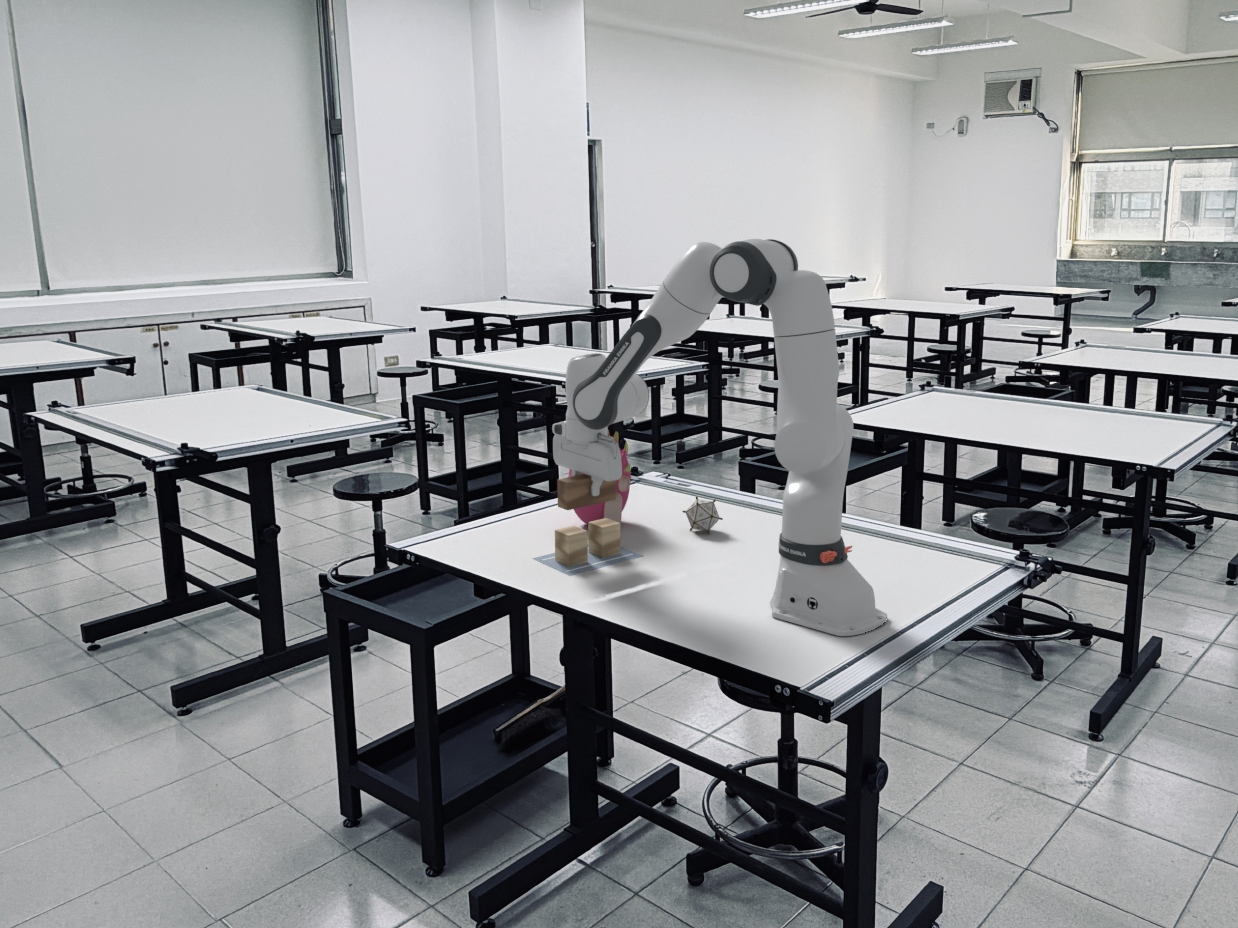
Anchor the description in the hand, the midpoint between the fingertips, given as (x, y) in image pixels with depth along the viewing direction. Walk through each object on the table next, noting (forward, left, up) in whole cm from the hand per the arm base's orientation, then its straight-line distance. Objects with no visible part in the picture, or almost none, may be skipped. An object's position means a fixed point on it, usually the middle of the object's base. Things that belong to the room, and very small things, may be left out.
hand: (587, 492), depth 220 cm
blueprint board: (0, 0, -15) cm, 15 cm away
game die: (0, -34, -16) cm, 37 cm away
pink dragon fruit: (+18, -17, -16) cm, 29 cm away
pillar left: (0, +4, -15) cm, 15 cm away
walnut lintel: (0, 0, -2) cm, 2 cm away
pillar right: (0, -5, -15) cm, 15 cm away
